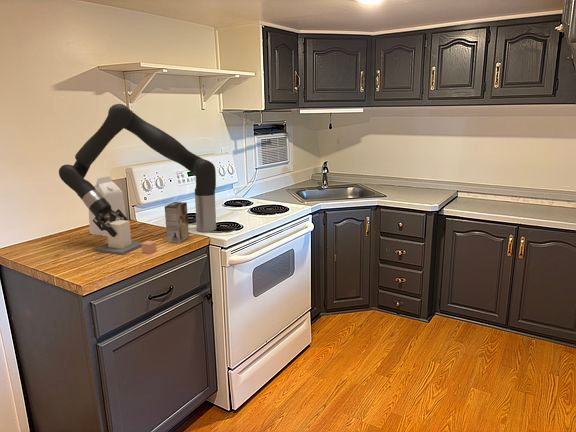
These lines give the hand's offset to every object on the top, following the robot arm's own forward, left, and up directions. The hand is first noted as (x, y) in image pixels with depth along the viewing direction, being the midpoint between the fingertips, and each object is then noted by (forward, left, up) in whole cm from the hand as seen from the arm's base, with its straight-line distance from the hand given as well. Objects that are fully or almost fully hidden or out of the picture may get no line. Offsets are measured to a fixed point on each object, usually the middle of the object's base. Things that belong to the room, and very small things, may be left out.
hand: (122, 233), depth 181 cm
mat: (-1, -1, -7) cm, 7 cm away
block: (+5, +12, -7) cm, 14 cm away
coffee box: (-11, +21, -7) cm, 24 cm away
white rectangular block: (-1, -1, -6) cm, 6 cm away
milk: (-26, -13, -7) cm, 30 cm away
